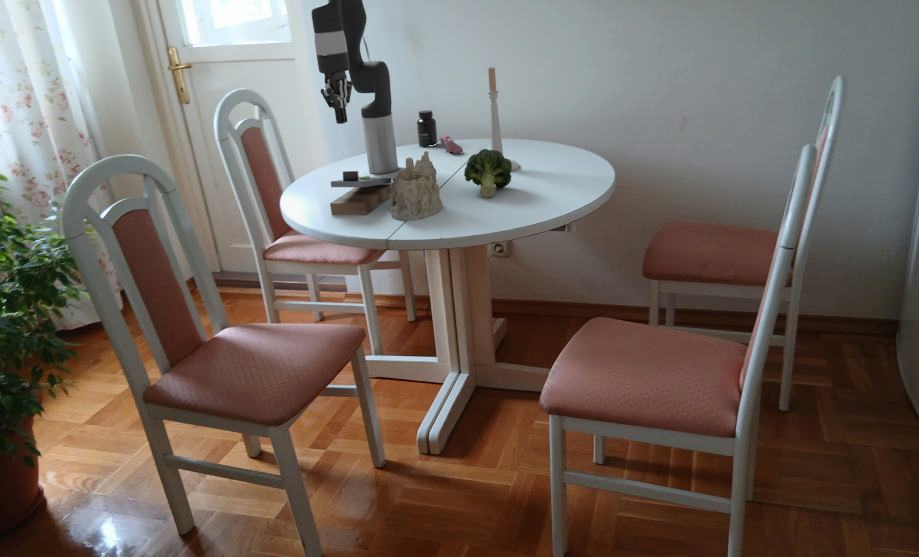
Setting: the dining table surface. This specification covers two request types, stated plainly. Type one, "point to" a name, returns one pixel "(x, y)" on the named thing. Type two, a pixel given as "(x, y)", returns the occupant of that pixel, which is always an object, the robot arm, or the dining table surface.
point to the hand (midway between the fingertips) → (342, 122)
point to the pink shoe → (450, 144)
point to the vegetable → (488, 171)
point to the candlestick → (496, 117)
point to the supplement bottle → (426, 129)
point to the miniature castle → (415, 191)
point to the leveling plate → (359, 180)
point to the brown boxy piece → (361, 200)
